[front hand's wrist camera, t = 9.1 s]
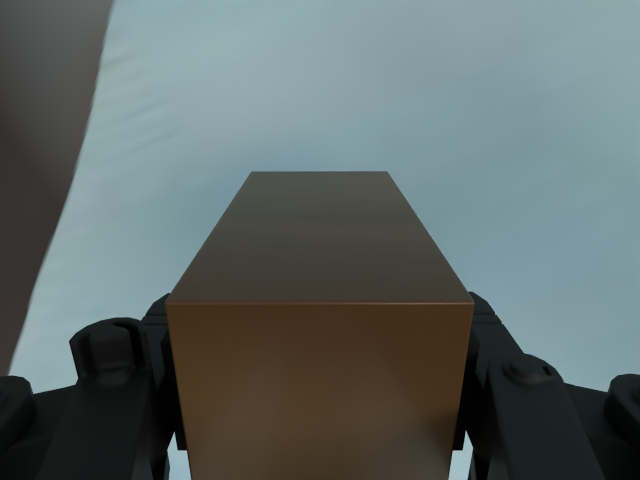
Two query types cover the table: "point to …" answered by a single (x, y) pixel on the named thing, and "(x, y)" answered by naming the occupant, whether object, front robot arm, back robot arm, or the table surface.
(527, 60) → the table surface
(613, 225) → the table surface
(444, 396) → the bar
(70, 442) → the front robot arm
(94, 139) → the table surface
